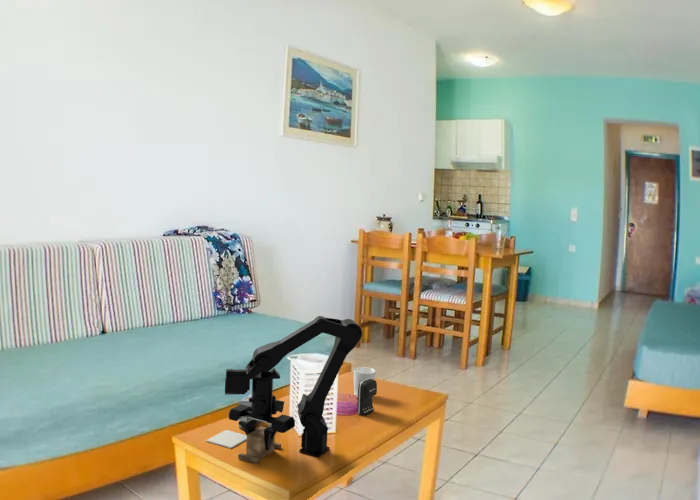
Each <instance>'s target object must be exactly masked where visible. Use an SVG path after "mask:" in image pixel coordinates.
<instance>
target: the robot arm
mask: <svg viewBox="0 0 700 500" xmlns="http://www.w3.org/2000/svg"><path fill="white" fill-rule="evenodd" d="M321 334H327V335H330V336H333V337H334V343H333V347H332V350H331V351H330V353H329V356H328V357H327V359H326V362H325V364H324V366H323V369H322V370H321V373H320V374H319V376H318V378H317V380H316V383H315V384H314V386H313V389H312V390H311V391H310V393H309V394H308V395H307V394H305V393H303V394H302V396H301V400H300V401H299V403H297V405H296V406H297V415H298V418H299V422H300V424H301V426H302V427H303V429H302V433H301V442H300V443H301V445H300V446H301V448H299V453H302V454H306V455H310V456H313V457H316V458H317V457H318V458H319V457H321V456H322V455H323V454H325V453H326V452H327V451H330V447H329V446H328V431H329V427H328V425H327V423H326V420H325V417H324V416H323V414H324V409H325V403H326V399H327V397H328V395H329V393H330V390H331V389H332V386H333V384H334V382H335V380H336V378H337V376H338V374H339V372H340V370H341V369H342V366H343V363H344V362H345V361H346V358H347V356H348V354H349V353H351V352H352V351H353V349H354V348H356V346H357V345H358V343H359V342H360V340H361V339H362V336H363V329H362V328H361V326H360V325H359V324H358V323H357V322H356V321H355V320H354V319H351V318H345V319H343V320H342V319H337V318H332V317H326V316H323V315H318V316H316V317H315V318H313V320H311V321H309V322H307V324H305V325H303V326H301V327H299V328H297V329H296V330H295V331H293V332H291V333H289V334H288V335H286V336H285V337H282V338H281V339H279V340H276V341H274V342H269V343H266V344H264V345H262V346H261V345H260V346H259V347H257V348H256V349H254V351H253V354H252V359H251V360H250V361H249V362H248V363H247V364H246V366H245V369H232V368H227V369H225V379H224V395H225V396H226V395H227V396H229V395H230V396H231V395H233V396H235V395H246V393H247V394H248V391H250V388H251V393H252V397H250V398H249V402H252V404H251V407H250V406H246V405H242V404H240V405H239V404H238V405H236V406H234V407H232V408H230V410H229V412H228V420H230V421H235V422H238V426H239V425H241V426H242V430H243V432H244V434H245V435H247V434H249V433H251V432H253V431H255V430H256V429H257V424H258V423H259V422H261V423H266V424H268V426H267V427H265V428H266V429H264V438H265V448H266V450H269V449H270V446H271V444H272V441H273V439H274V440H275V438H274V436H276V434H277V433H279V434H284V433H286V432H289V431H290V430H291V429H293V428H294V427H295V426H296V421H295V417H293V416H290V415H286V414H280V415H279V416H277V417H276V416H273V415H277V413H283V411H284V405H285V401H284V400H281V399H276V395H273V394H274V393H273V392H274V391H273V390H274V389H273V388H274V380H280V379H281V375H280V372H279V371H277V370H276V366H277V365H278V364H279V363H280V362H281V361H282V360H283V359H284V358H285V357H286V356H287V355H288V354H290V353H291V352H293V351H295V350H297V349H298V348H300V347H301V346H303V345H305V344H306V343H308V342H310V341H312V340H314V339H315V338H316V337H318V336H319V335H321ZM251 382H252V383H251ZM250 384H251V386H250ZM239 419H240V422H239ZM258 421H259V422H258ZM257 422H258V423H257Z"/></svg>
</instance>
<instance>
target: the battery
mask: <svg viewBox="0 0 700 500" xmlns="http://www.w3.org/2000/svg"><path fill="white" fill-rule="evenodd" d="M377 392H378V382H377V381H376V380H373V379H370V378H367V379H364V380H362V381H360V382H359V385H358V399H357V407H356V409H357V412H358V414H357V415H359V414H361V416H368V415H370V414H372V413H374V411H375V410H374V409H375V408H374V405H373V397H374V396H376V395H377ZM357 412H356V413H357ZM369 413H370V414H369ZM367 414H368V415H367Z"/></svg>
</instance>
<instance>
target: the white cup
mask: <svg viewBox="0 0 700 500" xmlns="http://www.w3.org/2000/svg"><path fill="white" fill-rule="evenodd" d="M367 378H370V379H373V380H375V379H376V370H375V368H372V367H368V366H367V367H365V366H364V367H362V366H360V367H355V368H354V369H353V396H354V395H356V396H358V385H359V382H360V381H362V380H364V379H367ZM375 381H376V380H375Z"/></svg>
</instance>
